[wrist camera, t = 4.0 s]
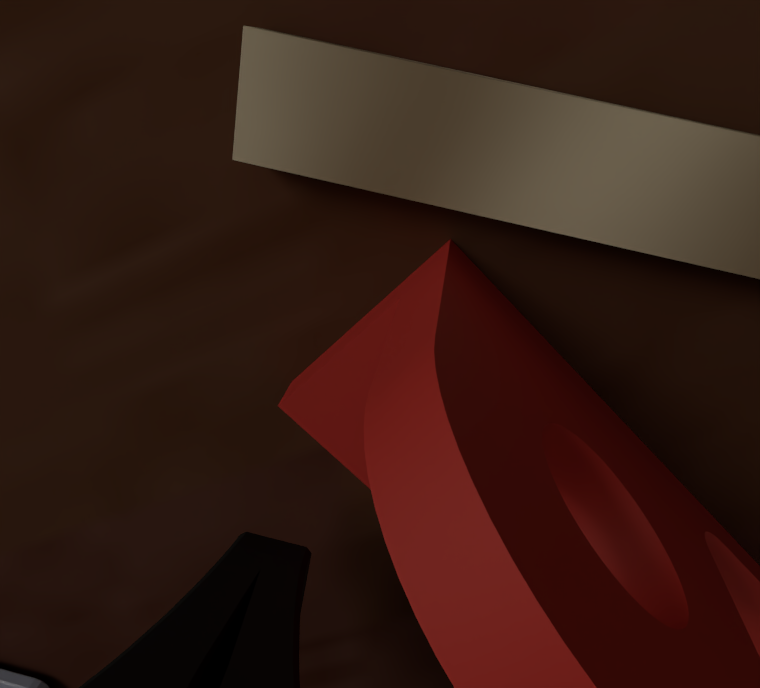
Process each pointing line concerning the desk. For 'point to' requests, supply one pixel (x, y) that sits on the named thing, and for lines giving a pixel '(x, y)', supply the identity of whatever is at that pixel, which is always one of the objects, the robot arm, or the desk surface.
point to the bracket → (525, 501)
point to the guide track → (500, 150)
